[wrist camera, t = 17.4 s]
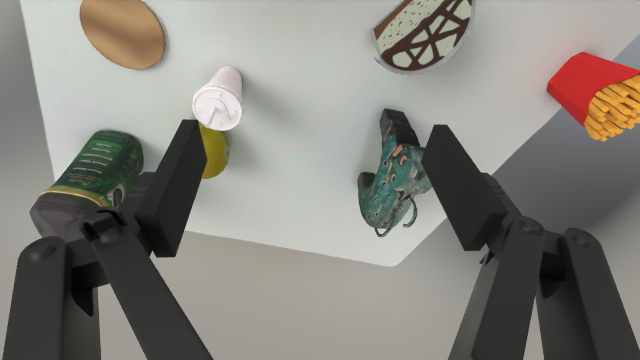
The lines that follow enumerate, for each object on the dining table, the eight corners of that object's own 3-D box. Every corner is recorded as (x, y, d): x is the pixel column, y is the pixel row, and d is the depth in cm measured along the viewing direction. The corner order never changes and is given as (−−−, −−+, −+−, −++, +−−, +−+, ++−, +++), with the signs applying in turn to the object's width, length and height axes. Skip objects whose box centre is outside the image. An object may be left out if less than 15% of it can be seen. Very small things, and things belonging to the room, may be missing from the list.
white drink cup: (228, 48, 42) (208, 93, 32) (259, 82, 46) (250, 133, 36) (198, 74, 45) (170, 124, 34) (230, 105, 48) (213, 158, 38)
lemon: (229, 164, 56) (222, 193, 51) (186, 156, 55) (173, 186, 49) (235, 115, 50) (228, 143, 44) (186, 104, 48) (171, 132, 42)
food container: (386, 67, 46) (404, 98, 38) (362, 37, 42) (377, 64, 35) (461, 5, 41) (498, 27, 33) (440, -35, 37) (476, -21, 30)
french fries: (583, 43, 45) (660, 80, 36) (601, 53, 46) (681, 90, 37) (535, 96, 51) (590, 139, 41) (552, 103, 52) (610, 147, 43)
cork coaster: (66, -15, 36) (63, -15, 36) (152, -10, 37) (150, -9, 37) (101, 66, 43) (99, 68, 42) (173, 69, 44) (172, 70, 43)
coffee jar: (90, 123, 49) (11, 207, 35) (143, 134, 51) (88, 218, 37) (99, 166, 55) (35, 252, 41) (146, 175, 57) (99, 259, 43)
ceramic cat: (382, 98, 49) (419, 179, 35) (417, 104, 50) (468, 185, 36) (348, 183, 62) (365, 269, 48) (377, 187, 63) (402, 271, 49)
